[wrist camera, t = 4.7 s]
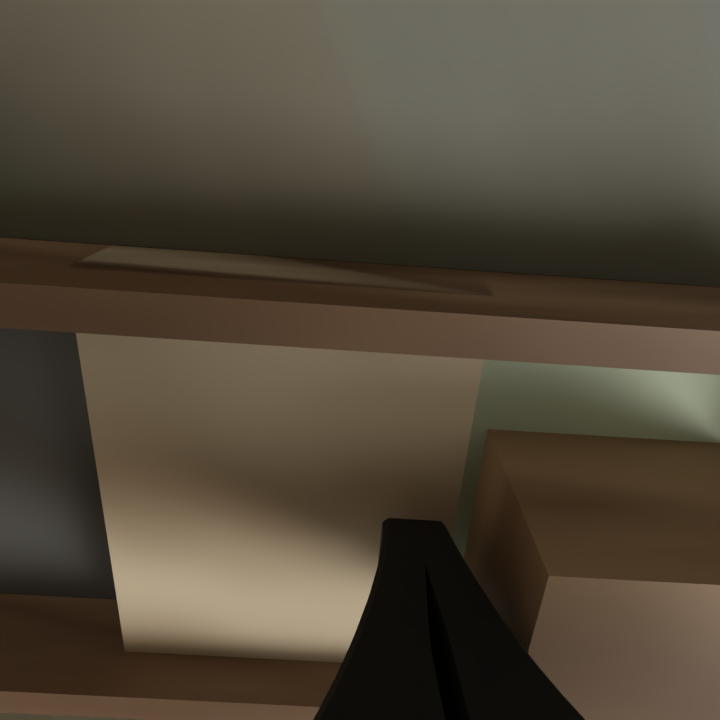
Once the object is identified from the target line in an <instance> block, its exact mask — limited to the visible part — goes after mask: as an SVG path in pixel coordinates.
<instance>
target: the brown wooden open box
mask: <svg viewBox="0 0 720 720" xmlns="http://www.w3.org/2000/svg"><path fill="white" fill-rule="evenodd" d="M488 429H493V430H510V431H527V432H544V433H560V434H577V435H594V436H611V437H628V438H645V439H662V440H678V441H695V442H712V443H720V287H706V286H691V285H677V284H663V283H648V282H634V281H619V280H605V279H591V278H576V277H562V276H547V275H533V274H518V273H504V272H490V271H475V270H461V269H446V268H432V267H418V266H403V265H389V264H374V263H360V262H345V261H331V260H317V259H302V258H288V257H273V256H259V255H245V254H230V253H216V252H201V251H187V250H173V249H158V248H144V247H129V246H115V245H100V244H86V243H72V242H57V241H43V240H28V239H14V238H0V713H20V714H40V715H61V716H81V717H102V718H122V719H143V720H313V719H314V717H315V715H316V714H317V712H318V710H319V708H320V706H321V704H322V702H323V700H324V698H325V696H326V695H327V693H328V691H329V689H330V687H331V685H332V683H333V681H334V679H335V677H336V675H337V673H338V671H339V668H340V666H341V664H342V662H343V660H344V658H345V655H346V653H347V651H348V649H349V646H350V644H351V642H352V639H353V637H354V635H355V632H356V630H357V627H358V624H359V622H360V619H361V616H362V614H363V611H364V608H365V606H366V603H367V600H368V597H369V594H370V591H371V587H372V584H373V580H374V577H375V574H376V570H377V566H378V559H379V549H380V540H381V531H382V522H383V521H385V520H386V519H388V518H398V519H416V520H433V521H442V522H443V524H444V525H445V526H446V528H447V530H448V532H449V534H450V535H451V537H452V539H453V541H454V543H455V545H456V546H457V548H458V550H459V552H460V553H461V555H462V557H463V559H464V554H465V549H466V543H467V538H468V533H469V527H470V522H471V516H472V511H473V506H474V500H475V495H476V490H477V484H478V479H479V474H480V468H481V463H482V457H483V452H484V447H485V441H486V436H487V431H488Z"/></svg>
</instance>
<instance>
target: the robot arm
mask: <svg viewBox="0 0 720 720" xmlns="http://www.w3.org/2000/svg"><path fill="white" fill-rule="evenodd" d="M313 720H585V719H584V718H583V717H582V716H581V714H580V713H579V712H578V711H577V710H576V709H575V708H574V707H573V706H572V704H571V703H570V702H569V701H568V700H567V699H566V698H565V697H564V696H563V695H562V693H561V692H560V691H559V690H558V689H557V688H556V686H555V685H554V684H553V683H552V682H551V681H550V679H549V678H548V677H547V676H546V675H545V673H544V672H543V671H542V670H541V669H540V667H539V666H538V665H537V664H536V663H535V661H534V660H533V659H532V658H531V656H530V655H529V654H528V652H527V651H526V650H525V649H524V647H523V646H522V645H521V643H520V642H519V641H518V639H517V638H516V637H515V635H514V634H513V633H512V631H511V630H510V629H509V627H508V626H507V624H506V623H505V622H504V620H503V619H502V617H501V616H500V615H499V613H498V612H497V610H496V609H495V607H494V606H493V604H492V603H491V601H490V600H489V598H488V597H487V595H486V594H485V592H484V591H483V589H482V588H481V586H480V585H479V583H478V582H477V580H476V578H475V577H474V575H473V574H472V572H471V570H470V569H469V567H468V565H467V564H466V562H465V560H464V559H463V557H462V555H461V553H460V552H459V550H458V548H457V546H456V545H455V543H454V541H453V539H452V537H451V535H450V534H449V532H448V530H447V528H446V526H445V525H444V524H443V522H442V521H433V520H416V519H398V518H388V519H386V520H385V521H383V522H382V531H381V540H380V549H379V559H378V566H377V570H376V574H375V577H374V580H373V584H372V587H371V591H370V594H369V597H368V600H367V603H366V606H365V608H364V611H363V614H362V616H361V619H360V622H359V624H358V627H357V630H356V632H355V635H354V637H353V639H352V642H351V644H350V646H349V649H348V651H347V653H346V655H345V658H344V660H343V662H342V664H341V666H340V668H339V671H338V673H337V675H336V677H335V679H334V681H333V683H332V685H331V687H330V689H329V691H328V693H327V695H326V696H325V698H324V700H323V702H322V704H321V706H320V708H319V710H318V712H317V714H316V715H315V717H314V719H313Z"/></svg>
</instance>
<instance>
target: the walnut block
mask: <svg viewBox="0 0 720 720" xmlns="http://www.w3.org/2000/svg"><path fill="white" fill-rule="evenodd" d="M464 560H465V562H466V564H467V565H468V567H469V569H470V570H471V572H472V574H473V575H474V577H475V578H476V580H477V582H478V583H479V585H480V586H481V588H482V589H483V591H484V592H485V594H486V595H487V597H488V598H489V600H490V601H491V603H492V604H493V606H494V607H495V609H496V610H497V612H498V613H499V615H500V616H501V617H502V619H503V620H504V622H505V623H506V624H507V626H508V627H509V629H510V630H511V631H512V633H513V634H514V635H515V637H516V638H517V639H518V641H519V642H520V643H521V645H522V646H523V647H524V649H525V650H526V651H527V652H528V654H529V655H530V656H531V658H532V659H533V660H534V661H535V663H536V664H537V665H538V666H539V667H540V669H541V670H542V671H543V672H544V673H545V675H546V676H547V677H548V678H549V679H550V681H551V682H552V683H553V684H554V685H555V686H556V688H557V689H558V690H559V691H560V692H561V693H562V695H563V696H564V697H565V698H566V699H567V700H568V701H569V702H570V703H571V704H572V706H573V707H574V708H575V709H576V710H577V711H578V712H579V713H580V714H581V716H582V717H583V718H584V719H585V720H720V443H712V442H695V441H678V440H662V439H645V438H628V437H611V436H594V435H577V434H560V433H544V432H527V431H510V430H493V429H488V431H487V436H486V441H485V447H484V452H483V457H482V463H481V468H480V474H479V479H478V484H477V490H476V495H475V500H474V506H473V511H472V516H471V522H470V527H469V533H468V538H467V543H466V549H465V554H464Z"/></svg>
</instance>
